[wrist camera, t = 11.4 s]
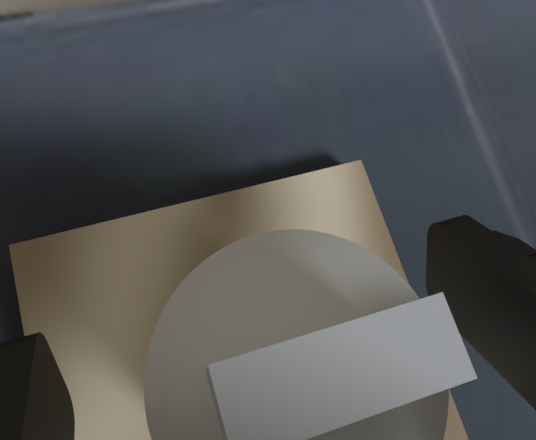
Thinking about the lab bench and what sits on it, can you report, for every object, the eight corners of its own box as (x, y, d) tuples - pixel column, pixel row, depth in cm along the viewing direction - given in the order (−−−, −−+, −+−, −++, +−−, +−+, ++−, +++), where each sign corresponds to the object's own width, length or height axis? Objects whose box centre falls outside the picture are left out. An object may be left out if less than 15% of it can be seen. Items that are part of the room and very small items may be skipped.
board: (351, 173, 19) (360, 159, 18) (478, 509, 16) (499, 518, 15) (21, 254, 17) (8, 244, 16) (95, 669, 14) (86, 694, 13)
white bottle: (301, 285, 17) (454, 130, 7) (351, 437, 15) (631, 529, 5) (154, 327, 16) (74, 220, 6) (195, 493, 14) (183, 737, 4)
